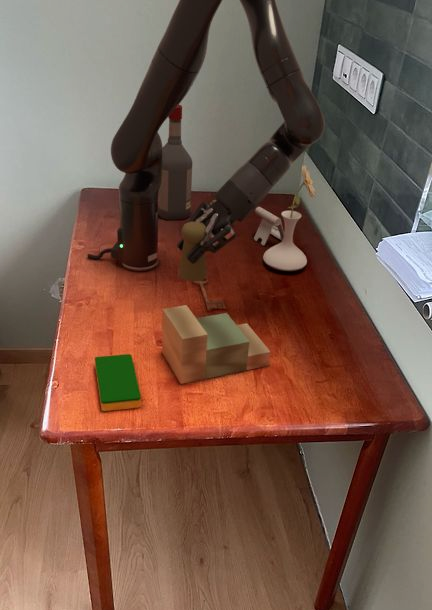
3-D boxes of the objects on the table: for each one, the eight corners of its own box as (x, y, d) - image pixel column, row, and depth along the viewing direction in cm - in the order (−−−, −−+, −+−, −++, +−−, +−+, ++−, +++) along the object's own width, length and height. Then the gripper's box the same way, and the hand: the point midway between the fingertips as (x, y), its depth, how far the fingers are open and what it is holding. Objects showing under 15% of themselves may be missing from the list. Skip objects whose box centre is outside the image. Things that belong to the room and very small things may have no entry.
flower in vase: (294, 280, 154) (309, 181, 139) (254, 266, 159) (265, 169, 143) (315, 261, 163) (332, 166, 148) (277, 249, 168) (290, 156, 152)
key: (225, 311, 141) (213, 279, 152) (226, 308, 140) (214, 276, 152) (200, 311, 139) (190, 278, 151) (201, 307, 139) (191, 275, 150)
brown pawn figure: (203, 283, 125) (206, 232, 119) (174, 278, 126) (176, 228, 119) (209, 269, 130) (212, 220, 123) (181, 265, 131) (183, 216, 124)
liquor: (161, 221, 177) (162, 110, 159) (154, 208, 184) (155, 101, 166) (191, 219, 179) (196, 110, 161) (184, 207, 186) (188, 101, 168)
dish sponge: (131, 363, 123) (131, 353, 121) (141, 407, 112) (141, 397, 111) (95, 366, 121) (94, 356, 120) (101, 412, 111) (101, 401, 109)
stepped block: (245, 336, 133) (250, 294, 126) (268, 365, 125) (274, 322, 118) (161, 352, 126) (162, 308, 120) (180, 384, 118) (182, 338, 112)
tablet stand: (290, 243, 171) (294, 214, 166) (268, 249, 167) (271, 219, 162) (271, 231, 176) (274, 203, 171) (249, 236, 173) (252, 208, 167)
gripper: (218, 166, 124) (160, 229, 127) (248, 193, 114) (185, 260, 117) (239, 190, 129) (183, 250, 132) (270, 217, 119) (209, 281, 122)
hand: (185, 254), depth 125 cm, fingers closed on brown pawn figure, 4 cm apart
